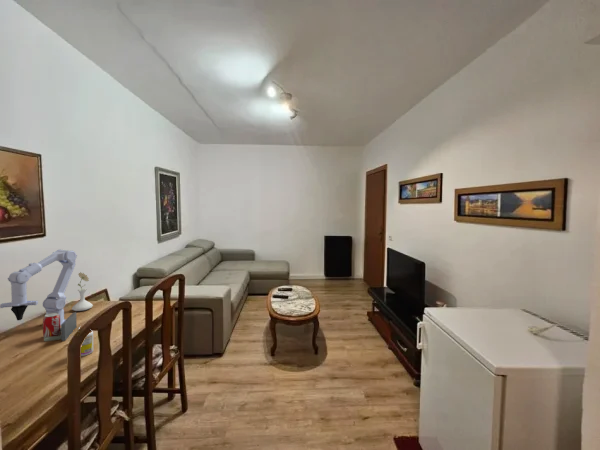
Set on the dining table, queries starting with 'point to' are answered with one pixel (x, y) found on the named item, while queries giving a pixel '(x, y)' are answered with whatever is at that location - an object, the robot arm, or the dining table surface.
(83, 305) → the flower in vase
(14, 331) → the dining table surface
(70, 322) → the grey bookend
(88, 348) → the supplement bottle
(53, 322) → the soda can
